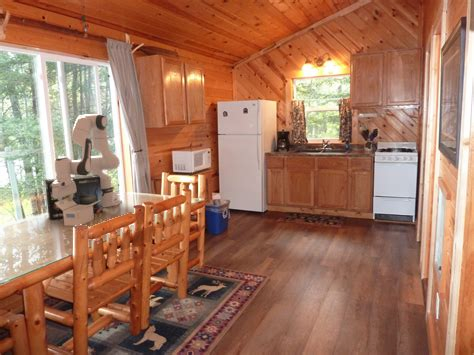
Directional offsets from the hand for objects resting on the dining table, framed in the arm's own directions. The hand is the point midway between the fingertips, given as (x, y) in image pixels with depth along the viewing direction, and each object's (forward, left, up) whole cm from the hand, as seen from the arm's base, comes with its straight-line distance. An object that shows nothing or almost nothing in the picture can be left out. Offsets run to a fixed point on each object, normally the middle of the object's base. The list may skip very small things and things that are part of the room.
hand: (66, 202), depth 242 cm
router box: (-18, -6, -14) cm, 23 cm away
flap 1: (0, 0, -1) cm, 1 cm away
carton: (0, +8, -14) cm, 16 cm away
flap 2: (0, +17, -1) cm, 17 cm away
